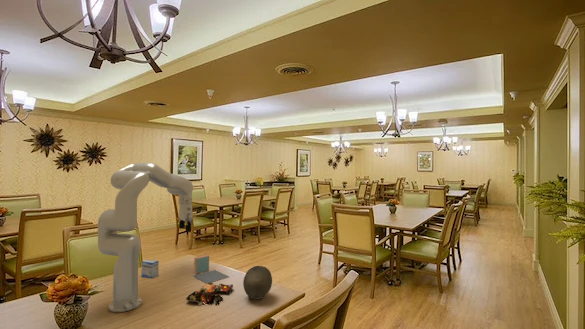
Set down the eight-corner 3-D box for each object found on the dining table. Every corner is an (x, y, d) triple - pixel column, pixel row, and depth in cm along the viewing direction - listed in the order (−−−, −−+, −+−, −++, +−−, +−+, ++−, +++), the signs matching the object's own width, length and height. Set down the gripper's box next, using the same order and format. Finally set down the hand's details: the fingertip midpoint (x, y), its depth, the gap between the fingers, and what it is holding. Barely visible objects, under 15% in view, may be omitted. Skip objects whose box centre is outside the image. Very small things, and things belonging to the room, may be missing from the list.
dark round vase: (236, 299, 137) (236, 267, 137) (256, 289, 148) (257, 260, 149) (258, 308, 129) (259, 274, 129) (278, 297, 140) (279, 265, 140)
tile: (209, 270, 174) (209, 255, 174) (196, 274, 168) (196, 258, 168) (206, 269, 176) (206, 254, 176) (194, 273, 170) (194, 257, 170)
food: (218, 309, 129) (218, 301, 129) (179, 305, 132) (179, 297, 132) (237, 289, 150) (237, 282, 150) (203, 286, 154) (203, 279, 154)
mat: (229, 276, 165) (229, 276, 165) (207, 283, 155) (207, 283, 155) (214, 270, 175) (214, 269, 175) (193, 276, 165) (193, 275, 165)
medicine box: (141, 276, 163) (141, 261, 163) (147, 274, 168) (147, 259, 168) (152, 278, 161) (152, 262, 161) (158, 275, 165) (158, 260, 165)
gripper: (197, 202, 172) (197, 231, 172) (185, 199, 185) (185, 226, 185) (184, 203, 167) (184, 233, 167) (173, 200, 180) (173, 228, 180)
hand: (185, 229), depth 176 cm, fingers open, 9 cm apart
